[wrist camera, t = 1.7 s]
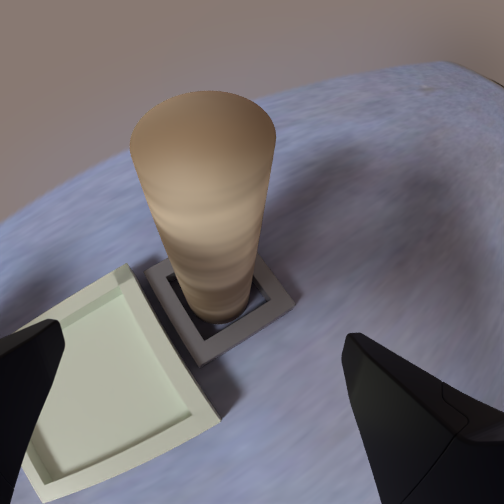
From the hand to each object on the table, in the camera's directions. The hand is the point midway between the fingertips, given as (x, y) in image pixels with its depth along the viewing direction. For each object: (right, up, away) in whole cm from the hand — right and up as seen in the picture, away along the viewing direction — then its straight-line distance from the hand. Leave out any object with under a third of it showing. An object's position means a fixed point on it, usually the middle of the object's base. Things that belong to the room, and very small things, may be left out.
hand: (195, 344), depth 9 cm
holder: (-1, 0, +14) cm, 14 cm away
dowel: (-1, 0, +14) cm, 14 cm away
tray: (-10, -7, +10) cm, 15 cm away
